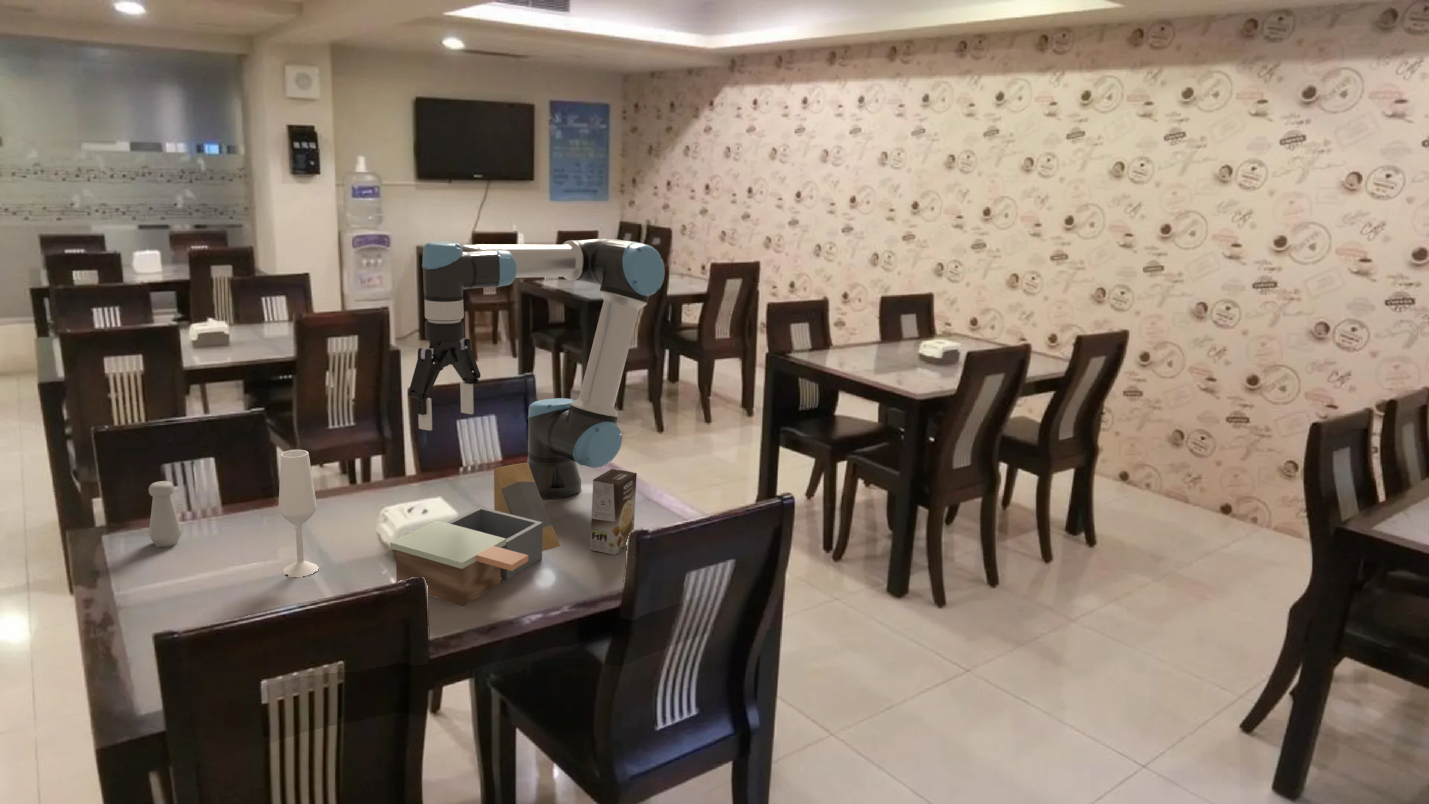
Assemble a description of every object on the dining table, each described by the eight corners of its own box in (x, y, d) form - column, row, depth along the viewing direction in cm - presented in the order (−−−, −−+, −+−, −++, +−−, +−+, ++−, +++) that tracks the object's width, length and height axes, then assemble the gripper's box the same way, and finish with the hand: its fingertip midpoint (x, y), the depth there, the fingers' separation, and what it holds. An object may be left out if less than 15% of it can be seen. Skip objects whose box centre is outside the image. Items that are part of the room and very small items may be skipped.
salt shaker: (189, 541, 188) (184, 482, 185) (162, 551, 183) (156, 490, 180) (170, 535, 190) (164, 476, 187) (143, 544, 185) (137, 484, 182)
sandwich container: (526, 555, 192) (527, 488, 188) (492, 531, 203) (492, 467, 200) (562, 546, 198) (563, 481, 194) (527, 523, 209) (528, 461, 205)
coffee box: (616, 556, 194) (619, 485, 190) (589, 550, 196) (591, 479, 192) (634, 540, 203) (637, 472, 199) (608, 535, 205) (610, 467, 201)
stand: (435, 564, 185) (435, 528, 183) (500, 583, 179) (500, 545, 177) (396, 585, 175) (395, 546, 173) (463, 606, 169) (463, 566, 167)
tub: (480, 541, 197) (480, 506, 195) (542, 558, 191) (542, 522, 189) (442, 561, 187) (442, 524, 185) (506, 579, 180) (507, 542, 178)
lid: (437, 525, 184) (436, 520, 184) (540, 553, 174) (540, 547, 174) (390, 548, 172) (389, 542, 172) (498, 579, 163) (498, 573, 162)
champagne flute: (278, 567, 179) (271, 451, 173) (314, 560, 183) (308, 446, 177) (287, 580, 174) (279, 461, 168) (324, 572, 178) (318, 456, 172)
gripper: (466, 309, 196) (468, 404, 202) (386, 327, 174) (391, 433, 179) (496, 313, 194) (497, 409, 199) (418, 331, 171) (422, 439, 177)
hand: (447, 421), depth 189 cm, fingers open, 13 cm apart
